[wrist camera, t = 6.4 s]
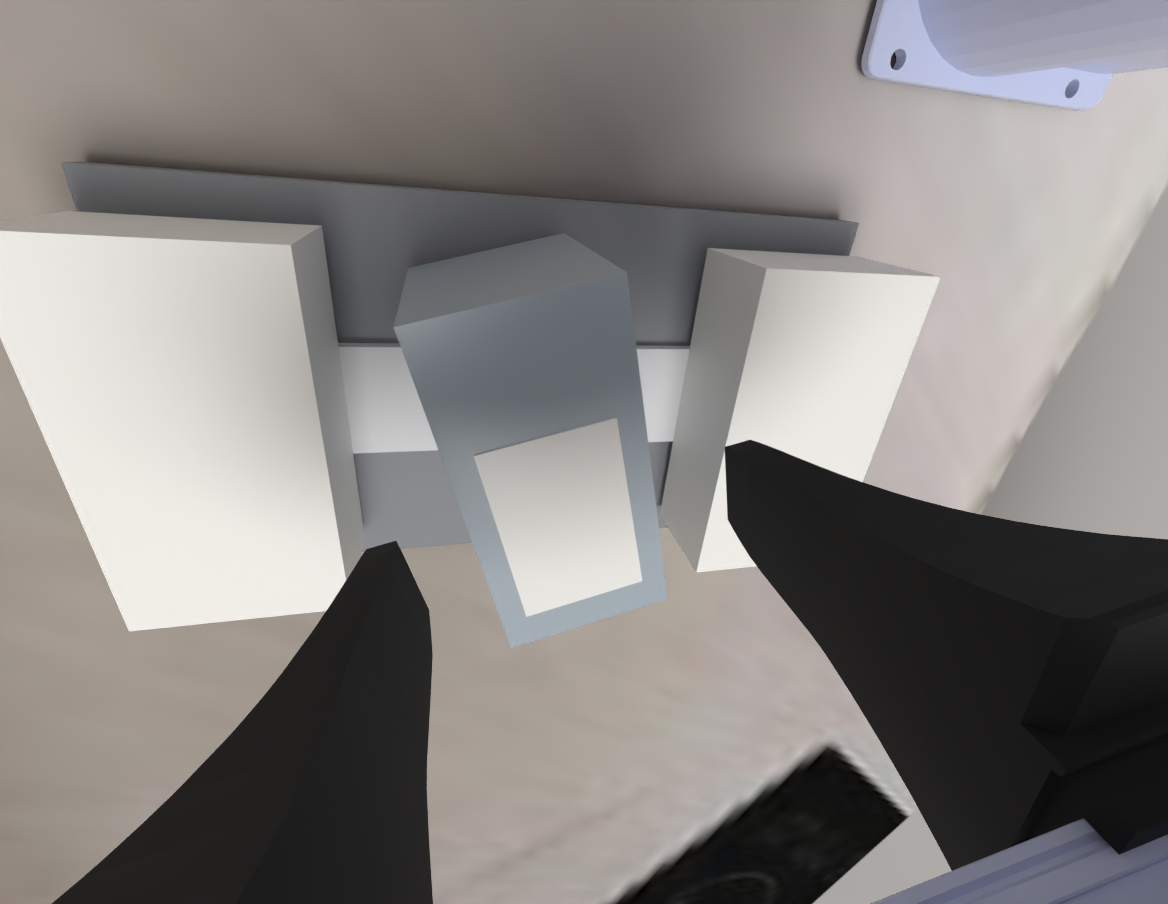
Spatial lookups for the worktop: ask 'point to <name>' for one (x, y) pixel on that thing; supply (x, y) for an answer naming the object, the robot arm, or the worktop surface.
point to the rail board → (394, 367)
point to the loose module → (540, 427)
